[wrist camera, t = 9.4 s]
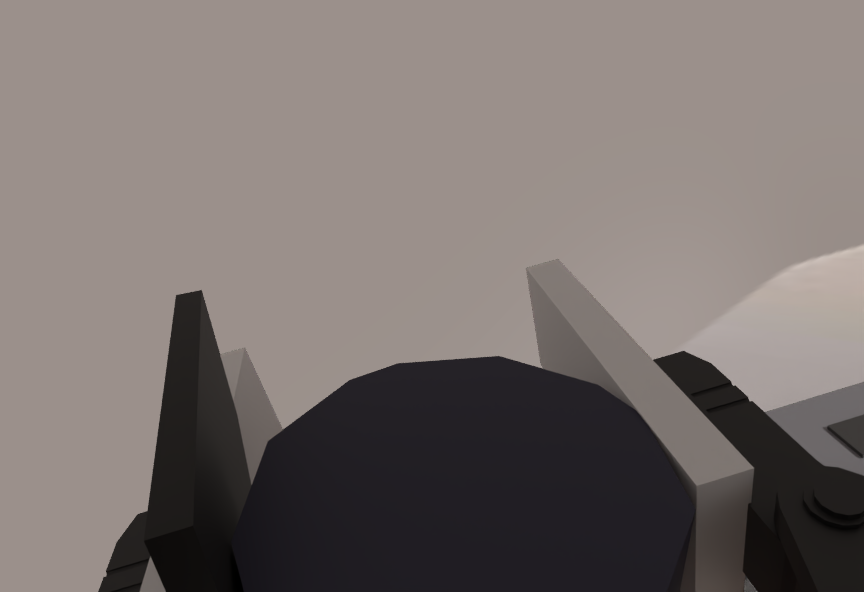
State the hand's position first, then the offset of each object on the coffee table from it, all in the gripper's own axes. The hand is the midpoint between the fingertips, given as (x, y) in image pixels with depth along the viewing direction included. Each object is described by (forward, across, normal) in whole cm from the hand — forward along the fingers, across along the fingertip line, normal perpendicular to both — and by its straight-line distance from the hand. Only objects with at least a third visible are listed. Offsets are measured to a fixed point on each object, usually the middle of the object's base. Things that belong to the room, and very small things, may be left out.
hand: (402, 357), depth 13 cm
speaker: (-5, -1, -7) cm, 8 cm away
